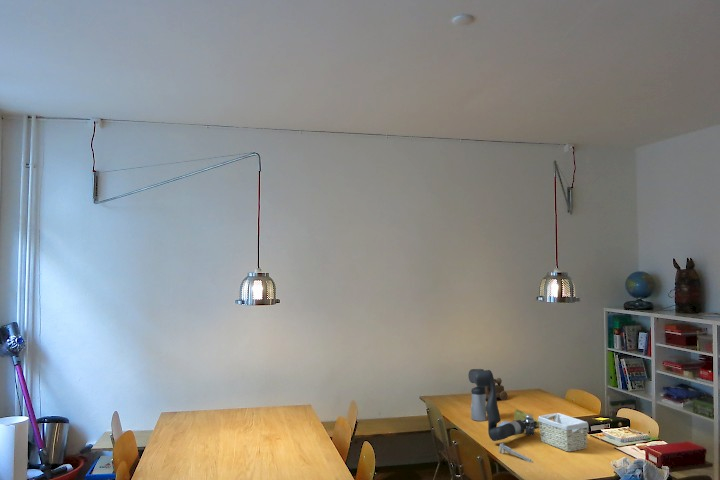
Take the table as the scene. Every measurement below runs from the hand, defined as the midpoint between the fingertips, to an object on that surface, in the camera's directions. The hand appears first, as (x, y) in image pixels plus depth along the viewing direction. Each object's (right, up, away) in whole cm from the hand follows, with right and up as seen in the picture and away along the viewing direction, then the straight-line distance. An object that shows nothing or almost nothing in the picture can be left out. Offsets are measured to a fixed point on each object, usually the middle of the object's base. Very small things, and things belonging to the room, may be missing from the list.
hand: (531, 422), depth 325 cm
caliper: (-22, -5, -41) cm, 47 cm away
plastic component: (+3, -8, +19) cm, 21 cm away
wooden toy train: (-2, -12, +85) cm, 86 cm away
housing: (-2, -6, -2) cm, 7 cm away
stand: (-12, -7, +6) cm, 15 cm away
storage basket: (+10, -5, -24) cm, 26 cm away
